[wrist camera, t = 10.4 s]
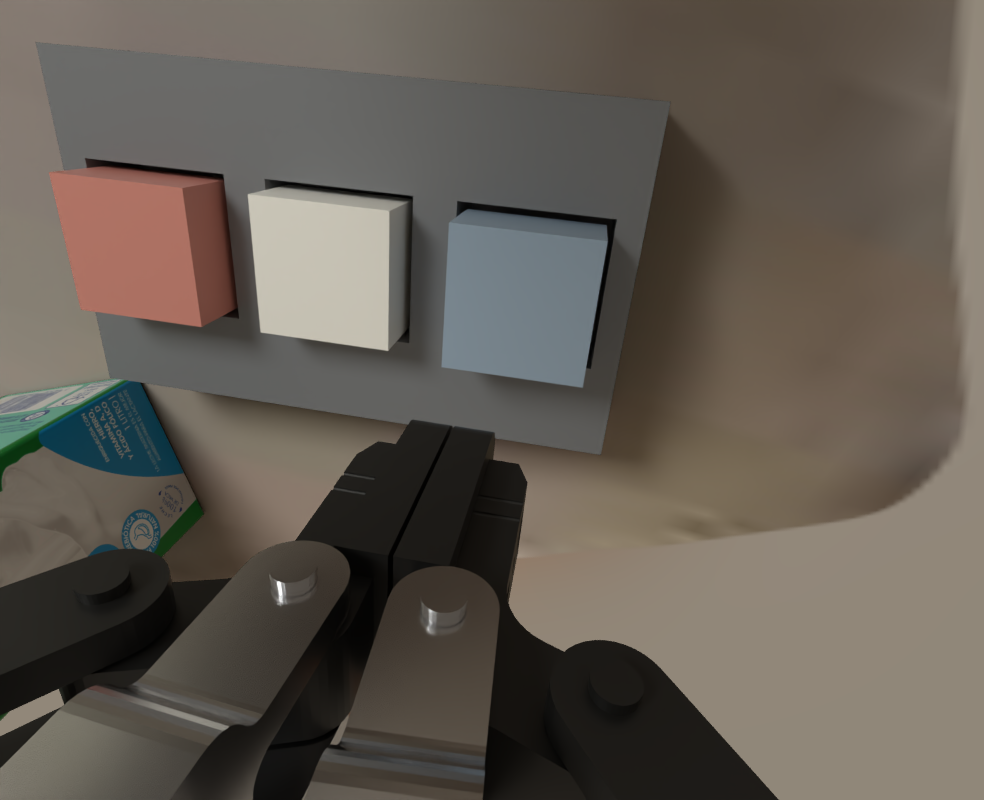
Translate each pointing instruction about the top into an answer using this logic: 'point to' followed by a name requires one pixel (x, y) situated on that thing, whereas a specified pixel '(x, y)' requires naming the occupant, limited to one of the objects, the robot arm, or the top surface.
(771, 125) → the top surface
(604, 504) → the top surface
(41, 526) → the milk carton
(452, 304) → the blue key
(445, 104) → the key panel
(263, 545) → the top surface
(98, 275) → the red key
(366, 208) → the white key
